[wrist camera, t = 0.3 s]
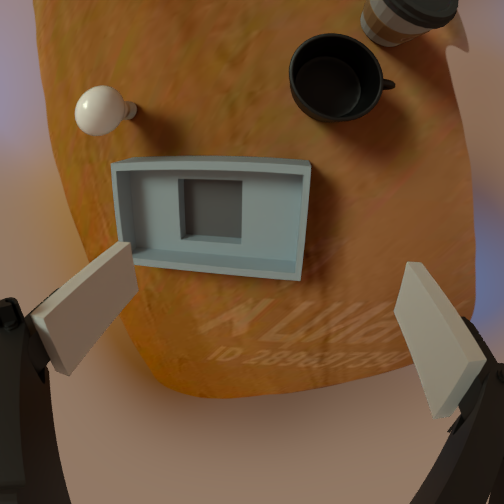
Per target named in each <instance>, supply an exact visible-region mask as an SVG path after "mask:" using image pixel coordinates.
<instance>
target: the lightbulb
mask: <svg viewBox="0 0 504 504" xmlns="http://www.w3.org/2000/svg"><path fill="white" fill-rule="evenodd" d="M136 112H137V107H136V105H135V104H134V103H133V102H130V101H124V100H123V97H122V96H121V94H120V93H119V92H118V91H117V90H116V89H114V88H112V87H109V86H96V87H93V88H91V89H89V90H88V91H86V92H85V93H84V94H83V95H82V96H81V97H80V99H79V100H78V102H77V105H76V108H75V120H76V123H77V125H78V127H79V128H80V129H81V130H82V131H83V132H85V133H86V134H88V135H92V136H101V135H105V134H108V133H110V132H111V131H113V130H114V129H115V128H116V127H117V126H118V125H119V124H120V122H121V121H122V120H129V119H132V118H133V117H134V116H135V115H136Z"/></svg>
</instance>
